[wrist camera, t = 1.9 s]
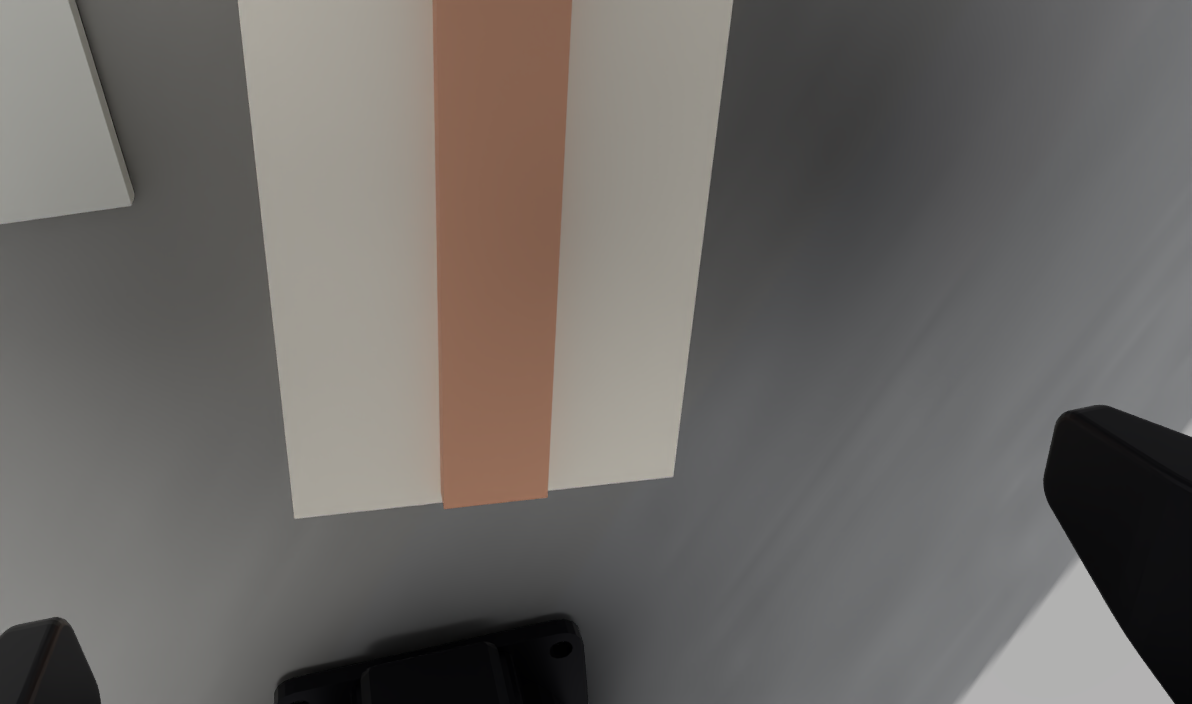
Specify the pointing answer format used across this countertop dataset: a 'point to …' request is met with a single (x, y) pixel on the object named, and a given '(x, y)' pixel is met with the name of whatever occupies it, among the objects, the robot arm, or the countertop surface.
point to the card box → (481, 238)
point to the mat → (54, 118)
